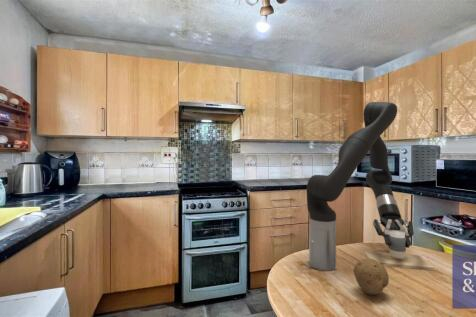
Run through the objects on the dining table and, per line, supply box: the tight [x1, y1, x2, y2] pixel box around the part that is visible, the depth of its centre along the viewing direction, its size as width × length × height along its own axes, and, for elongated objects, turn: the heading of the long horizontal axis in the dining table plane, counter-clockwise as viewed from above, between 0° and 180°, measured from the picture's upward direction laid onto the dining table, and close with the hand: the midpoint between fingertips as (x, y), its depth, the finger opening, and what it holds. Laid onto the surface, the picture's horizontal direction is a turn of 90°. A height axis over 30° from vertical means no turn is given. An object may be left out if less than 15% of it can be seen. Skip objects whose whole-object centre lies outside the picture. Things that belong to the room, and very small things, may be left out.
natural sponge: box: [353, 257, 390, 296], centre depth 72 cm, size 9×9×10 cm
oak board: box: [363, 250, 436, 271], centre depth 94 cm, size 20×11×1 cm, turn 76°
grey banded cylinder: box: [387, 230, 407, 258], centre depth 94 cm, size 6×6×9 cm
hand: (398, 246), depth 92 cm, fingers closed on grey banded cylinder, 5 cm apart
